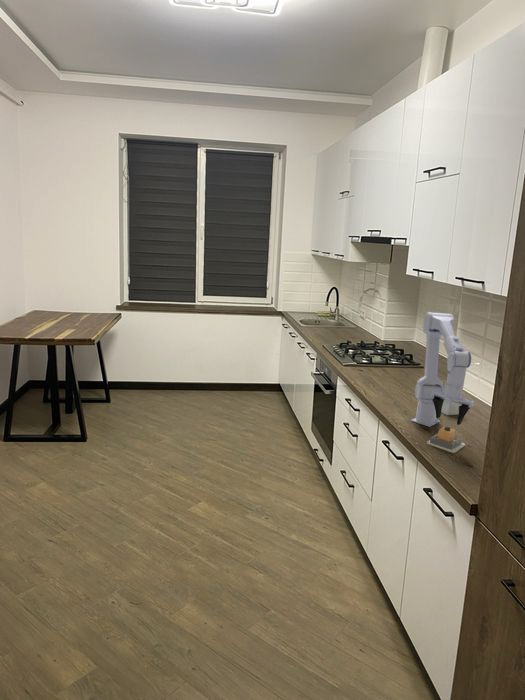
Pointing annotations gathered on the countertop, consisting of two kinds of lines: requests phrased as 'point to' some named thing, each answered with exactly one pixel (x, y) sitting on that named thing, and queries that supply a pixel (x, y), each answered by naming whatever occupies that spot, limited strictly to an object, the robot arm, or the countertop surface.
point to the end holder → (446, 444)
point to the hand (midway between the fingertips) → (448, 420)
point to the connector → (446, 434)
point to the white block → (450, 407)
